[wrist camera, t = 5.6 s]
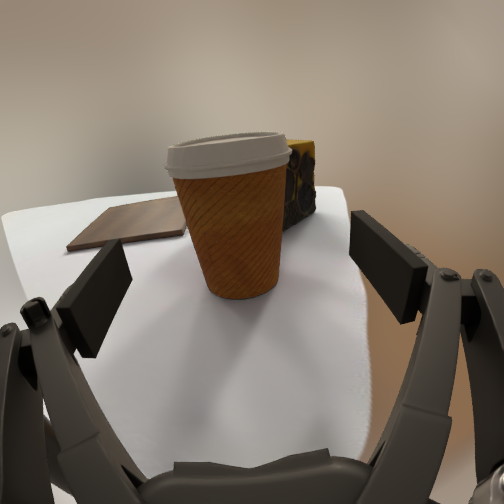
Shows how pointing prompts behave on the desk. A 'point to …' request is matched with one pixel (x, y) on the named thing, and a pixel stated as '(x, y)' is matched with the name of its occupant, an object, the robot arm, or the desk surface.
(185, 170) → the disposable coffee cup
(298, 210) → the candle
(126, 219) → the placemat
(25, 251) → the desk surface
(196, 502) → the robot arm
